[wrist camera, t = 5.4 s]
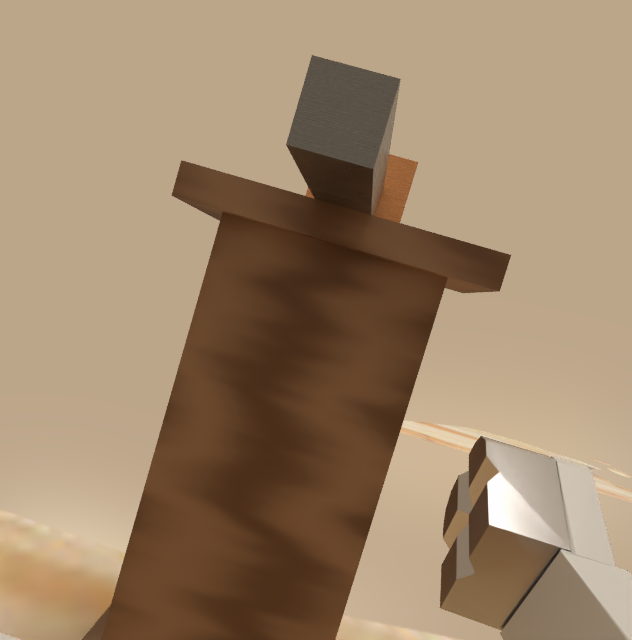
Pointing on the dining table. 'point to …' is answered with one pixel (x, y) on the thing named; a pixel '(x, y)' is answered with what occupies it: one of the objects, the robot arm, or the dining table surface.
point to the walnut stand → (282, 414)
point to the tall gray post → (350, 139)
